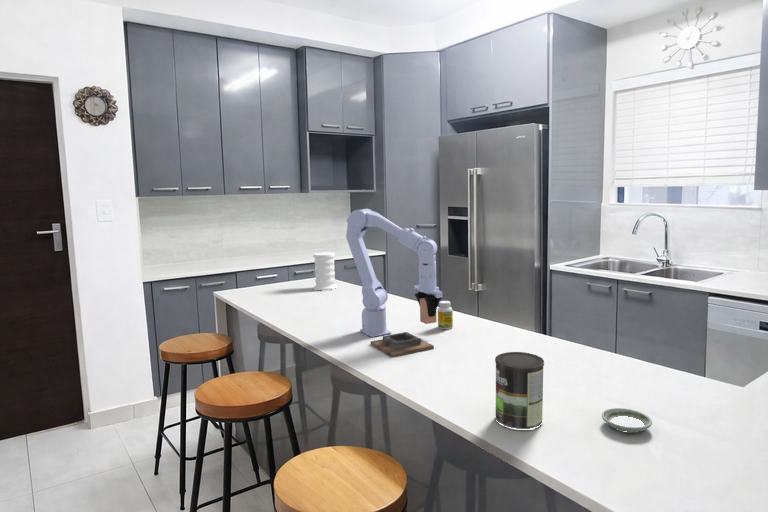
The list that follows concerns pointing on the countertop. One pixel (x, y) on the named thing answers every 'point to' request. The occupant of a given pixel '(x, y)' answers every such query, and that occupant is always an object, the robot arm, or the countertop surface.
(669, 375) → the countertop surface
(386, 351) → the peg holder
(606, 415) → the grey-green ring
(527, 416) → the coffee can
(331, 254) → the decorative container
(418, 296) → the robot arm
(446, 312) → the supplement bottle
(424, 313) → the peg
